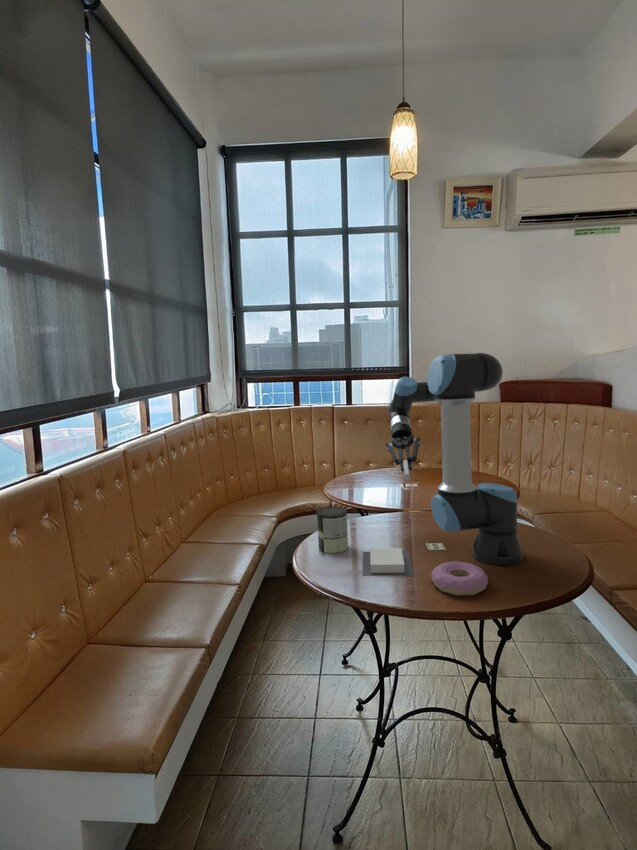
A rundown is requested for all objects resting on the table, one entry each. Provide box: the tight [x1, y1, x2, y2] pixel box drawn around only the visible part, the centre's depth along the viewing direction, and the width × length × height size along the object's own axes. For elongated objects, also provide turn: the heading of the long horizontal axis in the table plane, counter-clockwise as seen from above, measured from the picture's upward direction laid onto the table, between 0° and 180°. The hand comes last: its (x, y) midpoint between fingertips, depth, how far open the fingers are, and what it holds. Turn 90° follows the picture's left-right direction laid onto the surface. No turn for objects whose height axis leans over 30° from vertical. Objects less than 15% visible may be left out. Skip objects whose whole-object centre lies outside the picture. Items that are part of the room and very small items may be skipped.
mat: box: [361, 550, 415, 577], centre depth 158 cm, size 15×19×1 cm
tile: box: [369, 547, 405, 573], centre depth 157 cm, size 10×3×13 cm
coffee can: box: [316, 506, 349, 556], centre depth 172 cm, size 10×10×14 cm
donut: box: [430, 561, 489, 597], centre depth 142 cm, size 16×15×5 cm
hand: (407, 476), depth 172 cm, fingers closed
